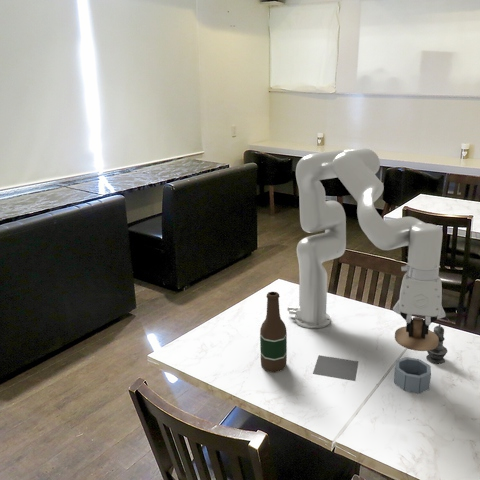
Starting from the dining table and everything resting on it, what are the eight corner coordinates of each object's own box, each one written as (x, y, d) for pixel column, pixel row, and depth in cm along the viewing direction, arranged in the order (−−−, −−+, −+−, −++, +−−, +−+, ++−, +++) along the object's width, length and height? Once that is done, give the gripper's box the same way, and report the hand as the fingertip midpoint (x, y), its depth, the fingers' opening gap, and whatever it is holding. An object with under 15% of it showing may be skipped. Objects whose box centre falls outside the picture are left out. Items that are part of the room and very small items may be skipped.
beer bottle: (272, 355, 143) (271, 285, 135) (292, 365, 137) (292, 292, 130) (255, 366, 138) (253, 293, 130) (274, 376, 132) (274, 302, 125)
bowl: (393, 389, 125) (395, 373, 123) (394, 370, 133) (395, 355, 132) (429, 395, 122) (431, 379, 121) (428, 375, 130) (430, 360, 129)
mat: (312, 374, 133) (312, 373, 133) (318, 356, 142) (318, 355, 142) (354, 381, 129) (355, 380, 129) (358, 362, 138) (358, 361, 138)
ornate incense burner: (440, 353, 141) (445, 318, 137) (449, 364, 135) (454, 328, 131) (421, 354, 141) (425, 319, 137) (430, 365, 135) (434, 329, 131)
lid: (394, 347, 120) (395, 326, 118) (395, 327, 130) (396, 308, 128) (439, 353, 116) (442, 332, 115) (436, 332, 126) (439, 312, 124)
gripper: (388, 274, 116) (384, 338, 122) (458, 280, 111) (450, 346, 117) (389, 264, 123) (385, 324, 129) (455, 269, 118) (448, 332, 124)
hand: (416, 334), depth 123 cm, fingers closed on lid, 2 cm apart
